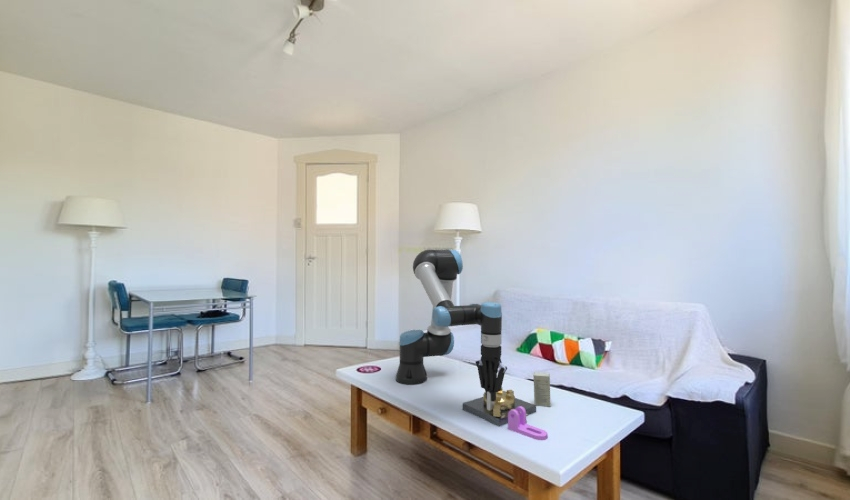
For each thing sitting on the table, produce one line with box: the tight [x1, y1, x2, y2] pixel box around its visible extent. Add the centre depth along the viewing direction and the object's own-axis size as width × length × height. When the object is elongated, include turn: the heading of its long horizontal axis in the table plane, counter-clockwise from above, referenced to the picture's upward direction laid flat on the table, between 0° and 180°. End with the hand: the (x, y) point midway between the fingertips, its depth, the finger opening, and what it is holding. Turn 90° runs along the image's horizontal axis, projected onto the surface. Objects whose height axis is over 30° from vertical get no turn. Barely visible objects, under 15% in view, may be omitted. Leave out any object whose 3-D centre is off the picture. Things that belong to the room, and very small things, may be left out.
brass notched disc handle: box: [482, 387, 516, 417], centre depth 147 cm, size 19×12×4 cm, turn 166°
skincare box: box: [532, 371, 552, 407], centre depth 157 cm, size 6×4×12 cm
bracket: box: [507, 406, 548, 441], centre depth 132 cm, size 13×6×7 cm, turn 44°
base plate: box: [462, 396, 537, 427], centre depth 149 cm, size 22×21×3 cm
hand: (490, 409), depth 142 cm, fingers closed
